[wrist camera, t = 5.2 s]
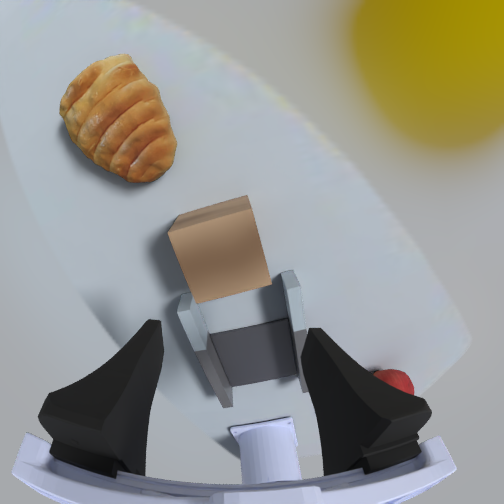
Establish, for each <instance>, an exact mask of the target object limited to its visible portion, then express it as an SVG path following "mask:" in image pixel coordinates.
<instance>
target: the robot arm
mask: <svg viewBox="0 0 504 504" xmlns="http://www.w3.org/2000/svg"><path fill="white" fill-rule="evenodd" d="M163 355H164V346H163V337H162V327H161V321H160V320H151V319H148V320H147V321H146V322H145V323H144V325H143V326H142V327H141V328H140V329H139V330H138V332H137V333H136V334H135V335H134V336H133V337H132V338H131V339H130V340H129V341H128V342H127V344H126V345H125V346H124V347H123V348H122V349H121V350H119V351H118V352H117V353H116V354H115V355H114V356H113V357H112V358H111V359H110V360H108V361H107V362H106V363H105V364H103V365H102V366H101V367H100V368H98V369H97V370H95V371H94V372H93V373H91V374H89V375H88V376H86V377H84V378H83V379H81V380H79V381H77V382H75V383H73V384H71V385H69V386H67V387H65V388H62V389H59V390H57V391H54V392H51V393H49V394H48V396H47V398H46V399H45V401H44V404H43V406H42V408H41V410H40V413H39V415H38V418H39V421H40V423H41V425H42V426H43V427H44V428H45V430H46V431H47V432H48V433H49V434H50V436H51V437H52V438H53V442H52V445H51V444H50V443H49V442H47V441H45V440H43V439H41V438H39V437H37V436H35V435H32V434H30V433H28V432H26V434H25V436H24V439H23V441H22V444H21V447H20V449H19V452H18V455H17V457H16V460H15V463H14V466H13V469H12V474H13V475H14V476H15V477H17V478H18V479H20V480H21V481H22V482H24V483H25V484H27V485H28V486H29V487H31V488H32V489H34V490H35V491H37V492H38V493H40V494H42V495H44V496H46V497H48V498H50V499H52V500H54V501H57V502H59V503H61V504H399V503H402V502H404V501H406V500H408V499H410V498H412V497H414V496H416V495H419V494H421V493H422V492H424V491H426V490H428V489H430V488H431V487H433V486H435V485H436V484H437V483H439V482H441V481H442V480H443V479H445V478H446V477H448V476H449V475H450V474H452V473H453V472H454V471H456V469H457V468H456V466H455V464H454V462H453V460H452V458H451V456H450V454H449V452H448V450H447V448H446V446H445V444H444V443H443V441H442V439H441V437H440V436H439V435H438V436H436V437H433V438H431V439H428V440H426V441H424V442H422V443H421V444H419V445H418V442H417V440H418V439H419V436H418V434H417V432H418V431H419V430H420V429H421V428H422V427H423V426H424V425H425V424H426V423H427V421H428V420H429V418H430V417H431V414H432V411H431V409H430V408H429V406H428V404H427V402H426V401H425V399H423V398H420V397H417V396H414V395H412V394H409V393H406V392H404V391H402V390H399V389H397V388H395V387H393V386H391V385H389V384H387V383H386V382H384V381H382V380H380V379H379V378H377V377H376V376H374V375H373V374H371V373H370V372H369V371H367V370H366V369H364V368H363V367H362V366H360V365H359V364H358V363H357V362H356V361H355V360H353V359H352V358H351V357H350V356H349V355H348V354H347V353H346V352H345V351H343V350H342V349H341V348H340V347H339V346H338V345H337V344H336V343H335V342H334V341H333V340H332V339H331V338H330V337H329V336H328V335H327V334H326V333H325V332H324V331H323V330H322V329H321V328H309V330H308V334H307V337H306V340H305V344H304V347H303V350H302V353H301V356H300V358H301V364H302V370H303V375H304V378H305V381H306V384H307V388H308V391H309V394H310V397H311V400H312V403H313V406H314V409H315V413H316V417H317V423H318V428H319V434H320V441H321V448H322V457H323V470H324V476H322V477H317V478H311V479H304V480H302V476H301V471H300V467H299V462H298V457H297V452H296V448H295V447H296V446H298V443H297V438H296V433H295V429H294V424H293V419H292V418H291V417H287V418H283V419H278V420H273V421H267V422H262V423H256V424H250V425H243V426H236V427H231V428H230V431H231V433H232V434H233V436H234V438H235V439H236V441H237V442H238V444H239V445H240V458H241V472H242V484H241V485H240V484H236V485H235V484H234V485H233V484H229V485H228V484H203V483H190V482H180V481H171V480H164V479H158V478H151V477H146V476H145V467H146V465H145V464H146V445H147V434H148V425H149V416H150V410H151V405H152V401H153V398H154V394H155V390H156V387H157V383H158V379H159V376H160V372H161V368H162V362H163Z"/></svg>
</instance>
